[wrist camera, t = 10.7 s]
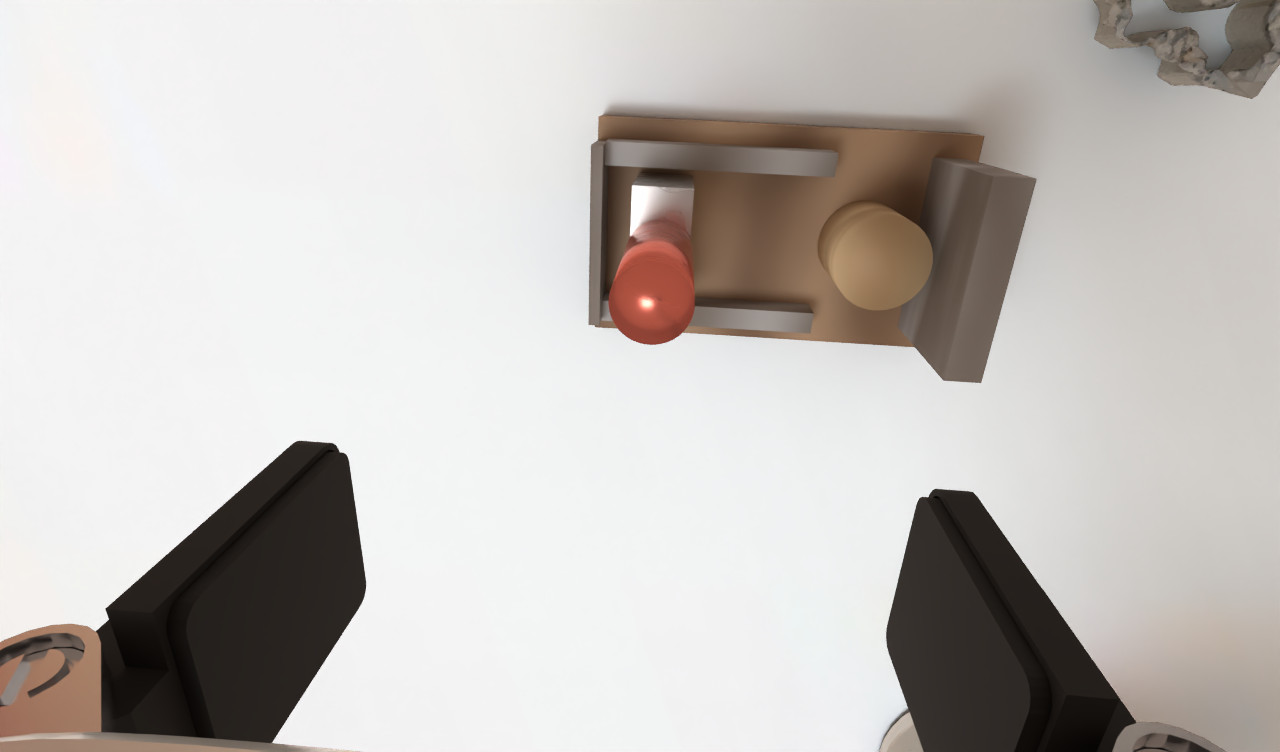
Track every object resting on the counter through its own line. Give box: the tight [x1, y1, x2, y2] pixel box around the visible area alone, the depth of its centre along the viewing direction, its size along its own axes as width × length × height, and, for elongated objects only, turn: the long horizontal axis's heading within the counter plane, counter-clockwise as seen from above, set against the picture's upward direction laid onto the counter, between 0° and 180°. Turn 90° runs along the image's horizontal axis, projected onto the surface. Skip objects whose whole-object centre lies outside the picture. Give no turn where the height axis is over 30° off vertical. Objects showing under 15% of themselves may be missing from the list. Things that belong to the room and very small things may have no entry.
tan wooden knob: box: [817, 200, 933, 310], centre depth 30 cm, size 4×4×4 cm
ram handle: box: [608, 173, 695, 345], centre depth 27 cm, size 3×5×11 cm, turn 177°
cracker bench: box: [589, 115, 1036, 383], centre depth 30 cm, size 17×10×8 cm, turn 88°
